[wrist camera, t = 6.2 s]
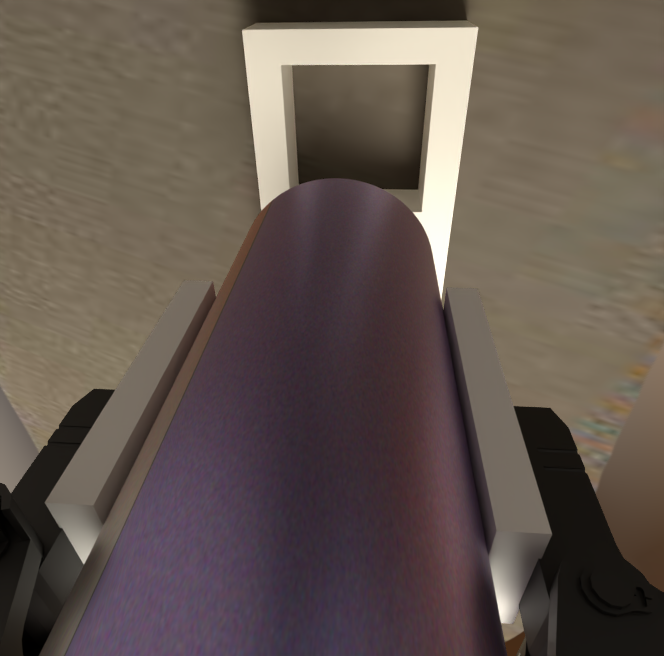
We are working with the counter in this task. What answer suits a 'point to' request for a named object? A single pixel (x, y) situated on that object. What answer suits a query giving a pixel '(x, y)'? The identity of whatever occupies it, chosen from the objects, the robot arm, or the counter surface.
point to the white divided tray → (366, 49)
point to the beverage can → (302, 462)
